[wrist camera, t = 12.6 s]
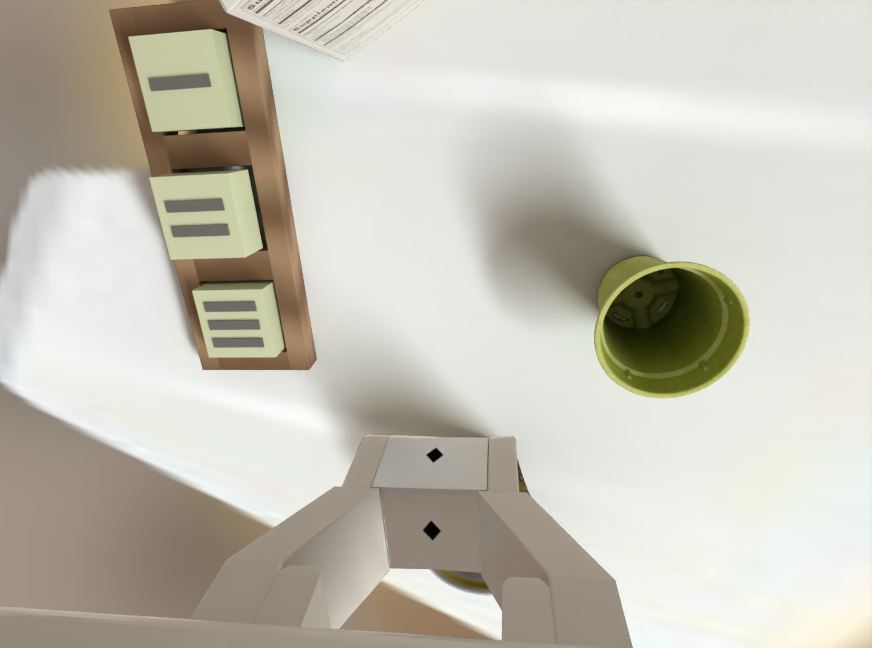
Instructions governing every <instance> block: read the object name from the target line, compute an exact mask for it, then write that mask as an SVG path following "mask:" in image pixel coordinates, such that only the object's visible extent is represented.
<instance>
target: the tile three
mask: <svg viewBox="0 0 872 648" xmlns="http://www.w3.org/2000/svg"><path fill="white" fill-rule="evenodd" d="M192 293H193V296H194V300H195V304H196V308H197V312H198V316H199V320H200V324H201V328H202V332H203V336H204V340H205V344H206V348H207V352H208V356H209V358H234V357H277V356H278V354H279V353H280V352H281V351H282V350H283V349H284V348H285V347H286V343H285V338H284V333H283V327H282V322H281V317H280V311H279V306H278V301H277V295H276V290H275V285H274V280H237V281H209V282H207V283H205V284H203V285H201V286H200V287H198V288H196V289H194V290H192Z"/></svg>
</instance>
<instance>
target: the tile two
mask: <svg viewBox="0 0 872 648" xmlns="http://www.w3.org/2000/svg"><path fill="white" fill-rule="evenodd" d="M149 180H150V184H151V188H152V191H153V195H154V199H155V203H156V207H157V210H158V214H159V218H160V222H161V225H162V229H163V233H164V237H165V241H166V244H167V248H168V252H169V256H170V260H177V259H212V258H245V257H247V256H249V255H251V254H253V253H255V252H256V251H258V250H260V249H262V248H263V246H262V241H261V236H260V230H259V225H258V220H257V215H256V209H255V204H254V199H253V194H252V188H251V183H250V178H249V173H248V170H230V171H211V172H192V173H174V174H168V175H161V176H155V177H149Z"/></svg>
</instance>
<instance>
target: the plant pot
mask: <svg viewBox="0 0 872 648" xmlns="http://www.w3.org/2000/svg"><path fill="white" fill-rule="evenodd" d="M658 270H663V274H660V273H659V272H657V271H658ZM636 292H641V293H642V296H641V297H639V298H638V297H636V296H635V294H636ZM665 300H667V305H666V307H665V308H664V310H663V311H662V312H660V313H658V314H656V311H657V310H658V309H659V308H660V307H661V305H662V304H663V303H664V302H665ZM598 304H599V311H600V313H599V316H598V318H597V321H596V326H595V331H594V344H595V350H596V354H597V357H598V360H599V362H600V364H601V366H602V368H603V369H604V371H605V372H606V374H607V375H608V376H609V377H610V378H611V379H612V380H613V381H614V382H615V383H617V384H618V385H619V386H621V387H623V388H624V389H626V390H628V391H630V392H632V393H635V394H638V395H641V396H646V397H652V398H675V397H681V396H685V395H689V394H692V393H695V392H697V391H700V390H702V389H704V388H706V387H708V386H710V385H711V384H713V383H715V382H716V381H717V380H719V379H720V378H721V377H723V376H724V375H725V374H726V373H727V372H728V371H729V370H730V369H731V368H732V366H733V365H734V364H735V363H736V361H737V360H738V358H739V357H740V355H741V353H742V352H743V349H744V347H745V344H746V341H747V338H748V334H749V326H750V317H749V311H748V307H747V304H746V301H745V299H744V297H743V295H742V293H741V291H740V290H739V289H738V287H737V286H736V285H735V284H734V283H733V282H732V281H731V280H730V279H729V278H728V277H726V276H725V275H723V274H722V273H720V272H718V271H717V270H715V269H712V268H710V267H707V266H705V265H701V264H697V263H692V262H665V261H663V260H660V259H657V258H654V257H650V256H637V257H632V258H629V259H625V260H622V261H620V262H619V263H617V264H615V265H614V266H613V267H612V268H611V269H609V270H608V272H607V273H606V274H605V276H604V277H603V279H602V281H601V283H600V286H599V290H598ZM614 312H616V313H618V314H619V315H620V316H622V317H624V318H626V319H628V321H625V322H624V321H621V320H619V319H617V318H616V317H614Z"/></svg>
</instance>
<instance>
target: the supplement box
mask: <svg viewBox="0 0 872 648" xmlns="http://www.w3.org/2000/svg"><path fill="white" fill-rule="evenodd" d="M219 1H220V3H221V5H222V7H223V9H224V10H225V11H226V13H228V14H231V15H233V16H236V17H238V18H241V19H243V20H245V21H248V22H250V23H253V24H255V25H257V26H260V27H262V28H265V29H267V30H269V31H272V32H274V33H277V34H279V35H281V36H284V37H287V38H289V39H292V40H294V41H296V42H299V43H301V44H304V45H306V46H309V47H311V48H313V49H316V50H318V51H320V52H323V53H325V54H328V55H330V56H332V57H335V58H337V59H340V60H342V61H347V60H349V59H350V58H352V57H353V56H354V55H356V54H357V53H358V52H360V51H361V50H362V49H364V48H365V47H366V46H367V45H369V44H370V43H371V42H373V41H374V40H375V39H377V38H378V37H379V36H380V35H382V34H383V33H384V32H386V31H387V30H388V29H389V28H391V27H392V26H393V25H395V24H396V23H397V22H398V21H400V20H401V19H402V18H404V17H405V16H406V15H408V14H409V13H410V12H412V11H413V10H414V9H415V8H417V7H418V6H419V5H421V4H422V3H423V2H425V1H426V0H219Z"/></svg>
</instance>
